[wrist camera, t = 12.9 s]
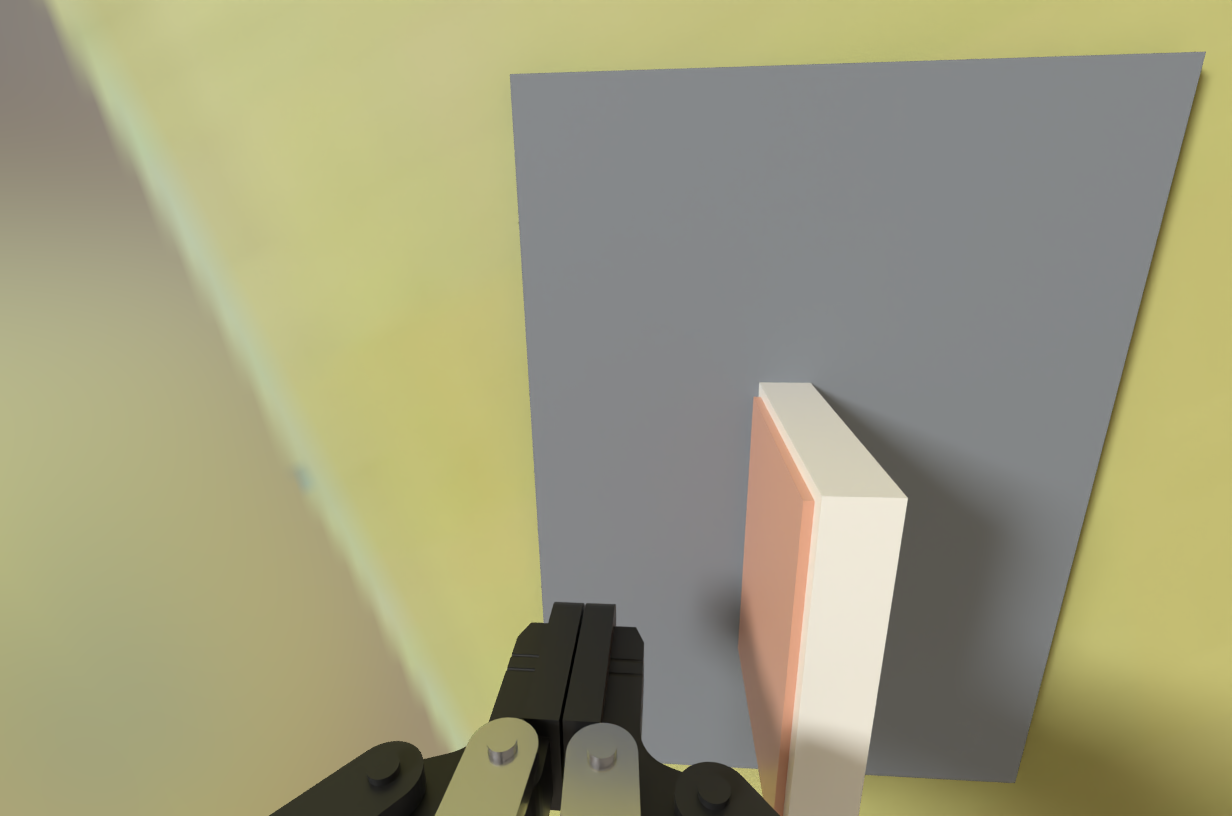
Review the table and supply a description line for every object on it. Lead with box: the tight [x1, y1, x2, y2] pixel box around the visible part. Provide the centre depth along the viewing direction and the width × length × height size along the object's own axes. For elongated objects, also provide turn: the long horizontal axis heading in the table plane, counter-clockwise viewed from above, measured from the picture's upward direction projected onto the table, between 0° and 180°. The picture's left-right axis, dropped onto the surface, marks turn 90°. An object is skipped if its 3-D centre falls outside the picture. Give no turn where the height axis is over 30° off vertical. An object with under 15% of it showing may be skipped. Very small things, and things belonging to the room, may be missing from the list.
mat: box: [510, 52, 1206, 783], centre depth 18 cm, size 22×16×1 cm
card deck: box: [738, 382, 908, 816], centre depth 15 cm, size 9×2×7 cm, turn 1°
